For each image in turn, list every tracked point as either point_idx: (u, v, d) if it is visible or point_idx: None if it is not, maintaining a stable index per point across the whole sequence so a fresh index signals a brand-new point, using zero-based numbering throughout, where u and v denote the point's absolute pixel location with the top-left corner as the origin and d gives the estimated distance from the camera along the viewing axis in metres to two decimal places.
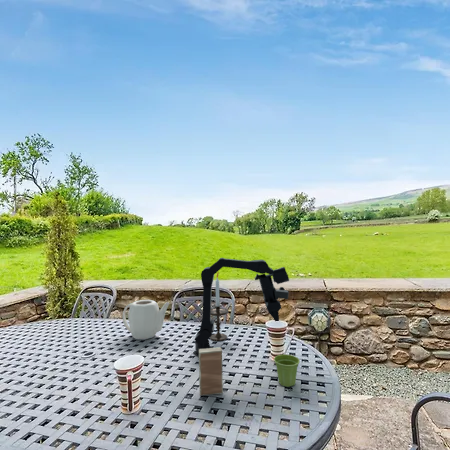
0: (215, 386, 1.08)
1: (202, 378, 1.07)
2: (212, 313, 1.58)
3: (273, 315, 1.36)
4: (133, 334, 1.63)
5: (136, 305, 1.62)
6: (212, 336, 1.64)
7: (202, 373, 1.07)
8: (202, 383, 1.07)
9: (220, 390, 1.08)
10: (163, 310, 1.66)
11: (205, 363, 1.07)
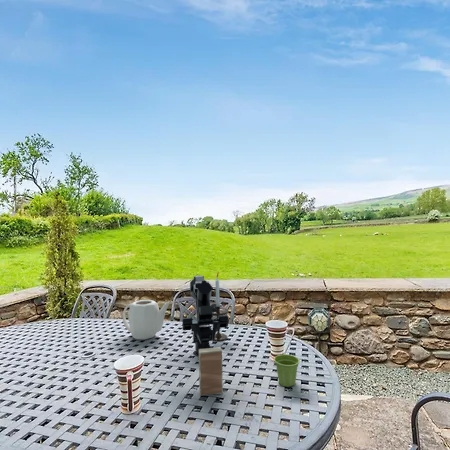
0: (215, 386, 1.08)
1: (202, 378, 1.07)
2: None
3: (197, 335, 1.23)
4: (133, 334, 1.63)
5: (136, 305, 1.62)
6: None
7: (202, 373, 1.07)
8: (202, 383, 1.07)
9: (220, 390, 1.08)
10: (163, 310, 1.66)
11: (205, 363, 1.07)
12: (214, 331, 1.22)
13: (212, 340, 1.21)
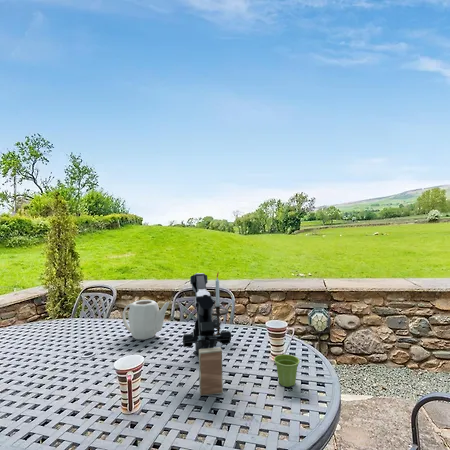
0: (215, 386, 1.08)
1: (202, 378, 1.07)
2: (212, 313, 1.58)
3: None
4: (133, 334, 1.63)
5: (136, 305, 1.62)
6: None
7: (202, 373, 1.07)
8: (202, 383, 1.07)
9: (220, 390, 1.08)
10: (163, 310, 1.66)
11: (205, 363, 1.07)
12: None
13: None
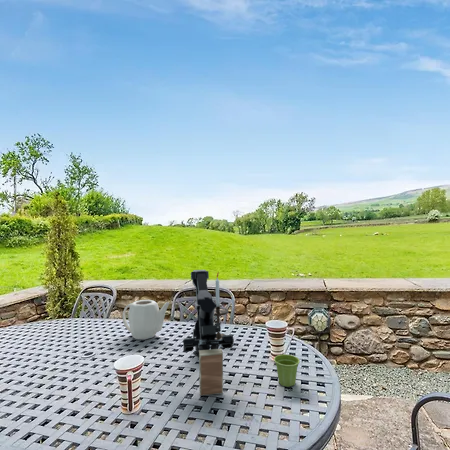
0: (215, 387, 1.08)
1: (202, 379, 1.06)
2: None
3: None
4: (133, 334, 1.63)
5: (136, 305, 1.62)
6: None
7: (202, 375, 1.06)
8: (202, 384, 1.07)
9: (220, 390, 1.08)
10: (163, 310, 1.66)
11: (205, 365, 1.06)
12: None
13: None
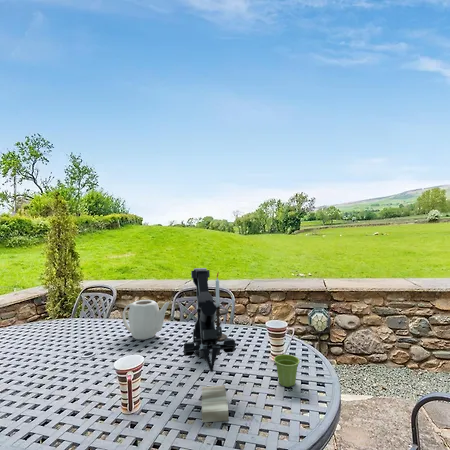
0: None
1: None
2: None
3: (206, 361, 1.10)
4: (133, 334, 1.63)
5: (136, 305, 1.62)
6: None
7: None
8: None
9: None
10: (163, 310, 1.66)
11: None
12: (213, 358, 1.09)
13: None
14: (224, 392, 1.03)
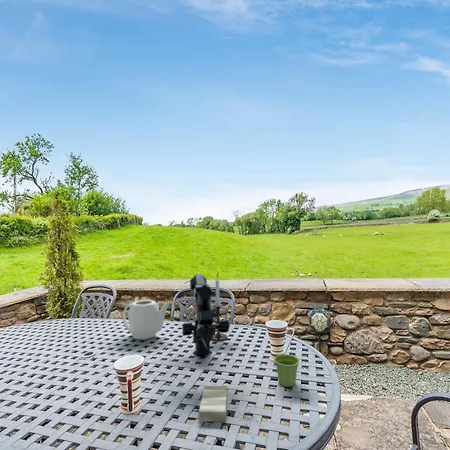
0: None
1: None
2: None
3: (202, 340, 1.22)
4: (133, 334, 1.63)
5: (136, 305, 1.62)
6: None
7: None
8: None
9: None
10: (163, 310, 1.66)
11: None
12: (209, 337, 1.21)
13: None
14: (225, 393, 1.03)
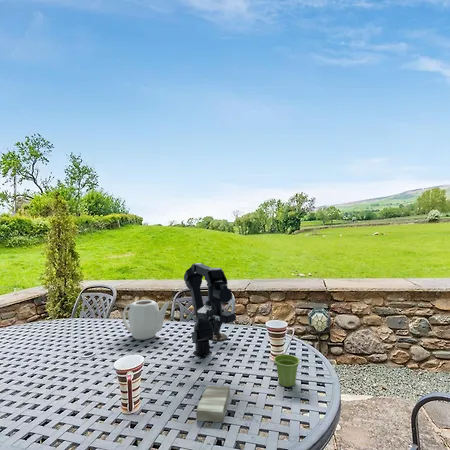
0: None
1: None
2: None
3: None
4: (133, 334, 1.63)
5: (136, 305, 1.62)
6: None
7: None
8: None
9: None
10: (163, 310, 1.66)
11: None
12: (215, 327, 1.29)
13: None
14: (226, 393, 1.03)
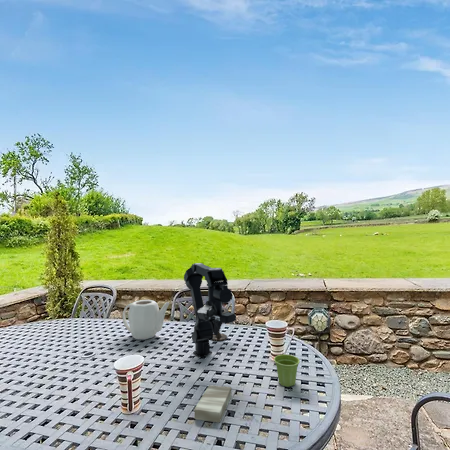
0: None
1: None
2: None
3: None
4: (133, 334, 1.63)
5: (136, 305, 1.62)
6: None
7: None
8: None
9: None
10: (163, 310, 1.66)
11: None
12: (215, 327, 1.29)
13: None
14: (226, 394, 1.02)
